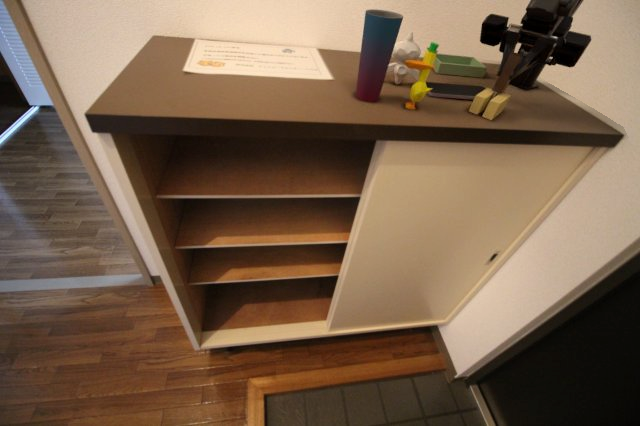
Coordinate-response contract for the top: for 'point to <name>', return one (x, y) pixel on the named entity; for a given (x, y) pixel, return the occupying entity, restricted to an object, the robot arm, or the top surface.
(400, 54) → the figurine
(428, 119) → the top surface
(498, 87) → the knife
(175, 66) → the top surface
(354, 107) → the top surface
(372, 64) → the cup
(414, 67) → the toy figure
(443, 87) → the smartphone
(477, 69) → the tray
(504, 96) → the butter
